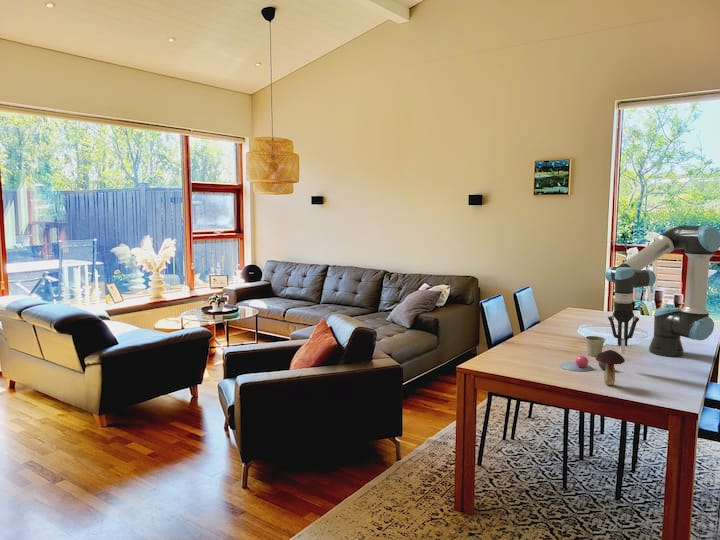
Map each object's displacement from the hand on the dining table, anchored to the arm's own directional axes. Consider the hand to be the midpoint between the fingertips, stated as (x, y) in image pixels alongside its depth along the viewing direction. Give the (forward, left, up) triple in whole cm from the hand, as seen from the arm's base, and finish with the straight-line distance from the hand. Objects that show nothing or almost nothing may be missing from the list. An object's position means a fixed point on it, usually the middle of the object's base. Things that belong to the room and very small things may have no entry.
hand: (622, 352), depth 240 cm
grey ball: (+7, +1, -5) cm, 9 cm away
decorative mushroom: (+9, +23, -8) cm, 26 cm away
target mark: (+19, 0, -8) cm, 21 cm away
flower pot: (+8, -24, -8) cm, 26 cm away
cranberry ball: (+17, 0, -5) cm, 18 cm away
